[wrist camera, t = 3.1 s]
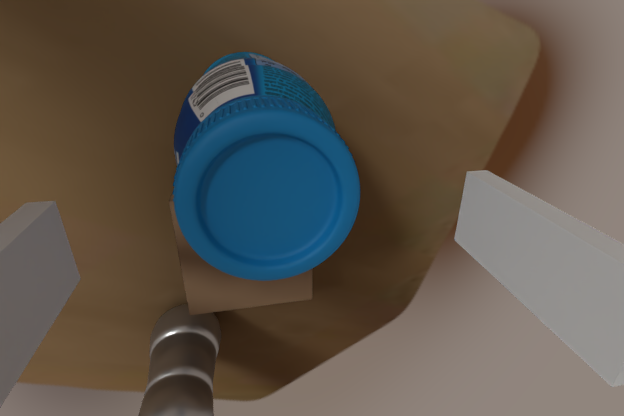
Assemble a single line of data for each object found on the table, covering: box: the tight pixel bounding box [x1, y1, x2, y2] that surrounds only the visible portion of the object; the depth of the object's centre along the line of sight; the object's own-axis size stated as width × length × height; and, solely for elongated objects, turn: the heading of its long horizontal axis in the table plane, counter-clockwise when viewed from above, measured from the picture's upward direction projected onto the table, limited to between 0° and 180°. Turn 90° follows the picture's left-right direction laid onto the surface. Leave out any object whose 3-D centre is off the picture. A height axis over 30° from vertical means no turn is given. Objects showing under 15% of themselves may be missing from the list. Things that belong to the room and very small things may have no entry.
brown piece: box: [169, 195, 312, 315], centre depth 32 cm, size 10×10×7 cm
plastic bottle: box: [138, 304, 221, 416], centre depth 30 cm, size 6×7×20 cm
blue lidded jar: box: [173, 52, 360, 281], centre depth 22 cm, size 8×8×20 cm
